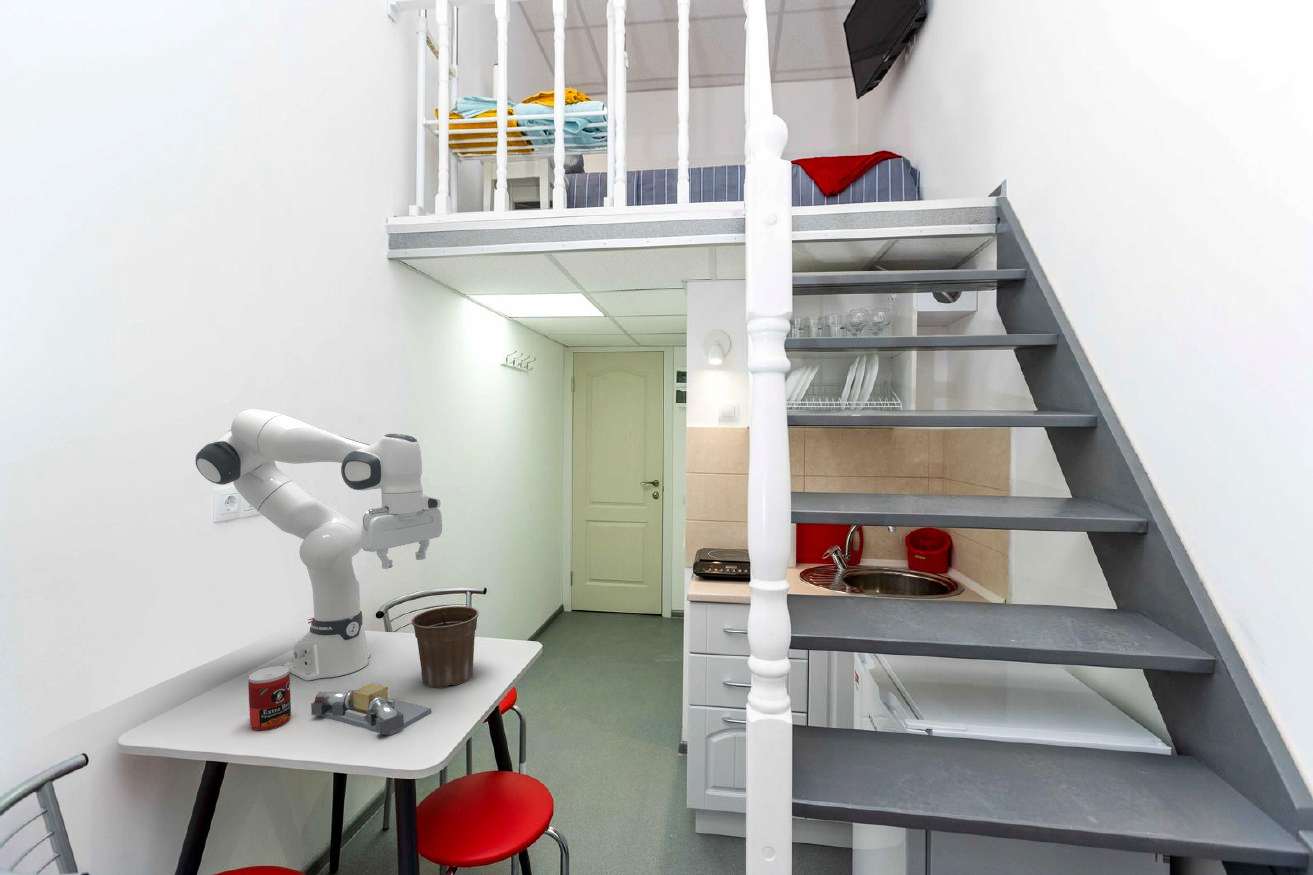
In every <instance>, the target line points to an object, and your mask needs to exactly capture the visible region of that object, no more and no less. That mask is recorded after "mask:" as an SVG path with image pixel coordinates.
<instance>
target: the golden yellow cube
mask: <svg viewBox="0 0 1313 875" xmlns="http://www.w3.org/2000/svg"><path fill="white" fill-rule="evenodd" d="M388 688H389V687H388V685H383V684H378V683H374V682H371V683H368V684H366V685H364V686H362V687H360V688H357V689H354V690H355V691H353V711H356V712H359V713H363V714H367V711H368V705H369V703H370V702H371V700H373V699H374V698H376V697H379V696H381V697H384V698H385V699H386V700H387V701H388V698H389V695H388V692H389V691H388Z"/></svg>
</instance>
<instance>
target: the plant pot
mask: <svg viewBox="0 0 1313 875" xmlns="http://www.w3.org/2000/svg"><path fill="white" fill-rule="evenodd" d="M479 616H480V611H479V610H478V609H476V608H474V607H470V606H462V605H461V606H459V605H458V606H456V605H455V606H443V607H438V608H437V607H436V608H433V609H429V610H426V611H423V612H420V613H419V614H417V615H415V616H413V618H412V619H411V625H412V626H413V628H414V635H415V638H416V640H417V648H418V655H419V663H420V670H421V680H422V683H423V685H425V686H426V687H429V688H436V689H439V688H440V689H443V688H447V687H448V686H451V685H452V686H458V685H460V684H463V683H465V682H467V681H468V680H470V679H471V678H472V676H474V658H475V656H474V655H475V653H474V652H475V640H476V639H475V638H476V637H475V636H476V630H477V628H478V627H477V626H478V625H477V623H478V618H479Z"/></svg>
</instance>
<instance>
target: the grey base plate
mask: <svg viewBox="0 0 1313 875" xmlns="http://www.w3.org/2000/svg"><path fill="white" fill-rule="evenodd" d="M388 704H391V705H392V706H394V710H395V711H400V712H401V713H402V714H403V718H404V726H403V727H400V728H397V729H394V730H392V731H389V732H386V733H383V735H387V736H393V735H394V734H396V733H398V732H399V731H402V730H403V729H405V728H407V727H408V726H411V725H412V724H414V723H416V722H418V721H419V720H421V719H423V718H424V717H427V716H428V715H429V714H431V713H432V707H428V706H425V705H420V704H416V703H412V702H408V701H405V700H399V699H396V698H392V697H388ZM319 716H320V717H323V718H328V719H332V720H334V721H338V722H342V723H344V724H345V723H346V724H349V725H352V726H356V727H359V728H363V729H367V730H370V731H374V732H377V731H376V725H374V726H371V725H370V724H368V723H367V714H363V713H359V712H356V711H353V709H351V710H347V711H345V715H343V716H333V707H332V708H331V709H330V710H328V711H327V712H325V713H324V714H323V715H319Z"/></svg>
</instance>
